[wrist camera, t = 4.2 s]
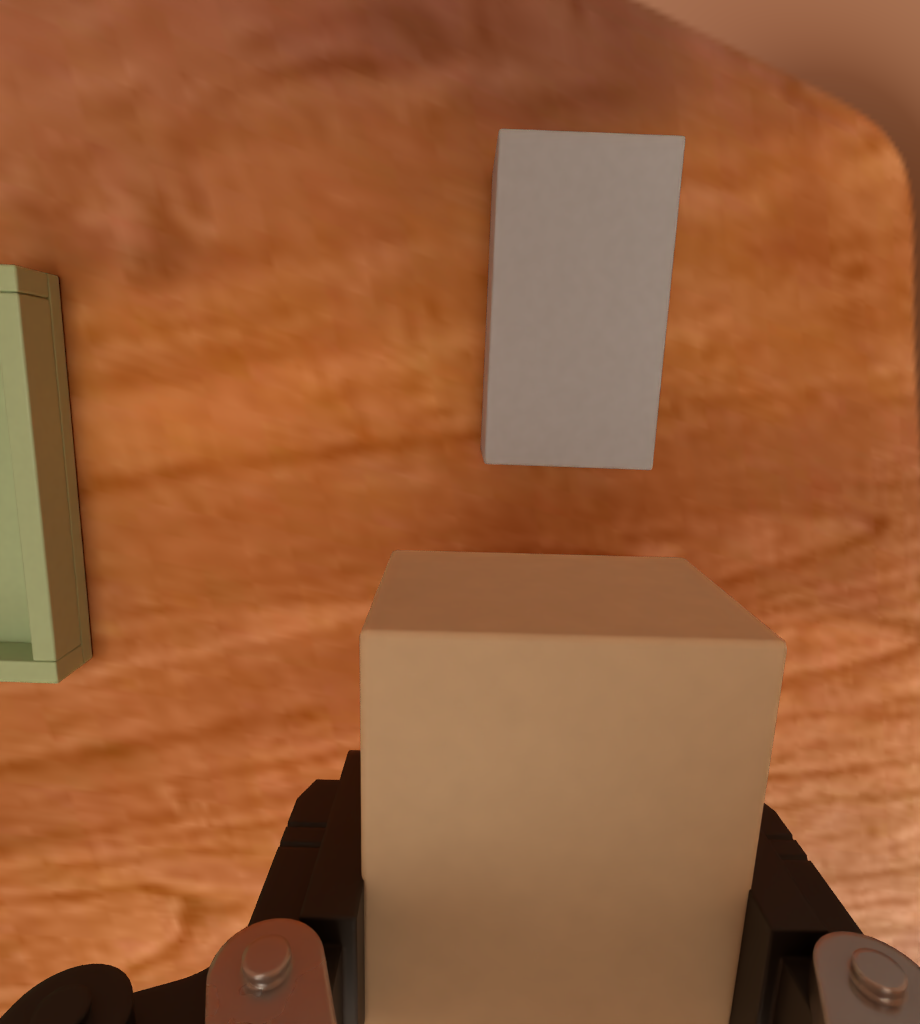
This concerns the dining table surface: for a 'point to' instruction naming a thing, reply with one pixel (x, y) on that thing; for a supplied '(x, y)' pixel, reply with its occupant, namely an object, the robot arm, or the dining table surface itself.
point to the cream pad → (559, 788)
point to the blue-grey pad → (578, 296)
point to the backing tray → (38, 489)
